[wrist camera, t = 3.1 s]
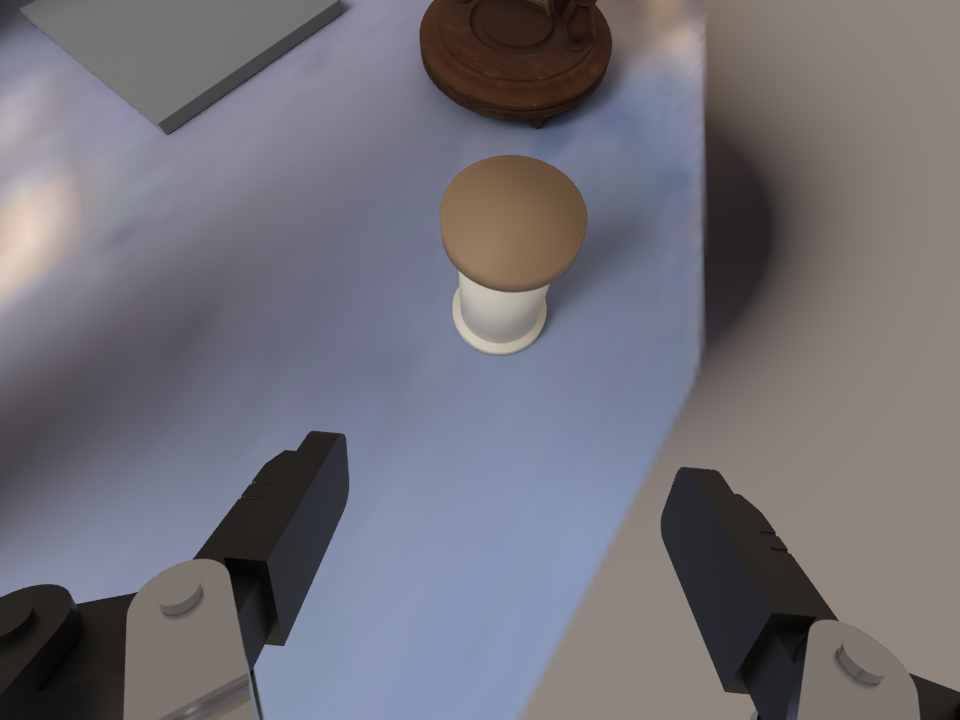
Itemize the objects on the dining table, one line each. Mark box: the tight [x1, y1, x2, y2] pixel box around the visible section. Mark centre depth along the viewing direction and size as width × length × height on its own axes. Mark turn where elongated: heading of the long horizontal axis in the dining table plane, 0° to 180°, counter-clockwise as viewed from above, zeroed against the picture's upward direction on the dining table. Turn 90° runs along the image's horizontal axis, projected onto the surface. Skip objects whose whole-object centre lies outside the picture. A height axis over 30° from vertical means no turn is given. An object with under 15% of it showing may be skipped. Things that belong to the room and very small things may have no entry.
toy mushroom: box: [440, 155, 587, 356], centre depth 23 cm, size 6×6×10 cm
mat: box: [19, 0, 342, 135], centre depth 36 cm, size 18×18×1 cm
